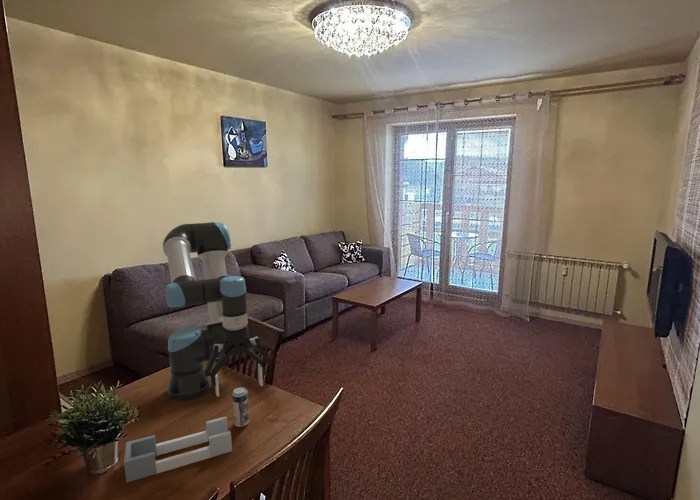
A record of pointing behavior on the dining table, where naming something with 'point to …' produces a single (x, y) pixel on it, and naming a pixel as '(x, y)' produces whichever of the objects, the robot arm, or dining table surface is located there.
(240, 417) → the beer can
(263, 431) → the dining table surface
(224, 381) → the dining table surface
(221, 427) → the end-cap channel
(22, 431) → the dining table surface
